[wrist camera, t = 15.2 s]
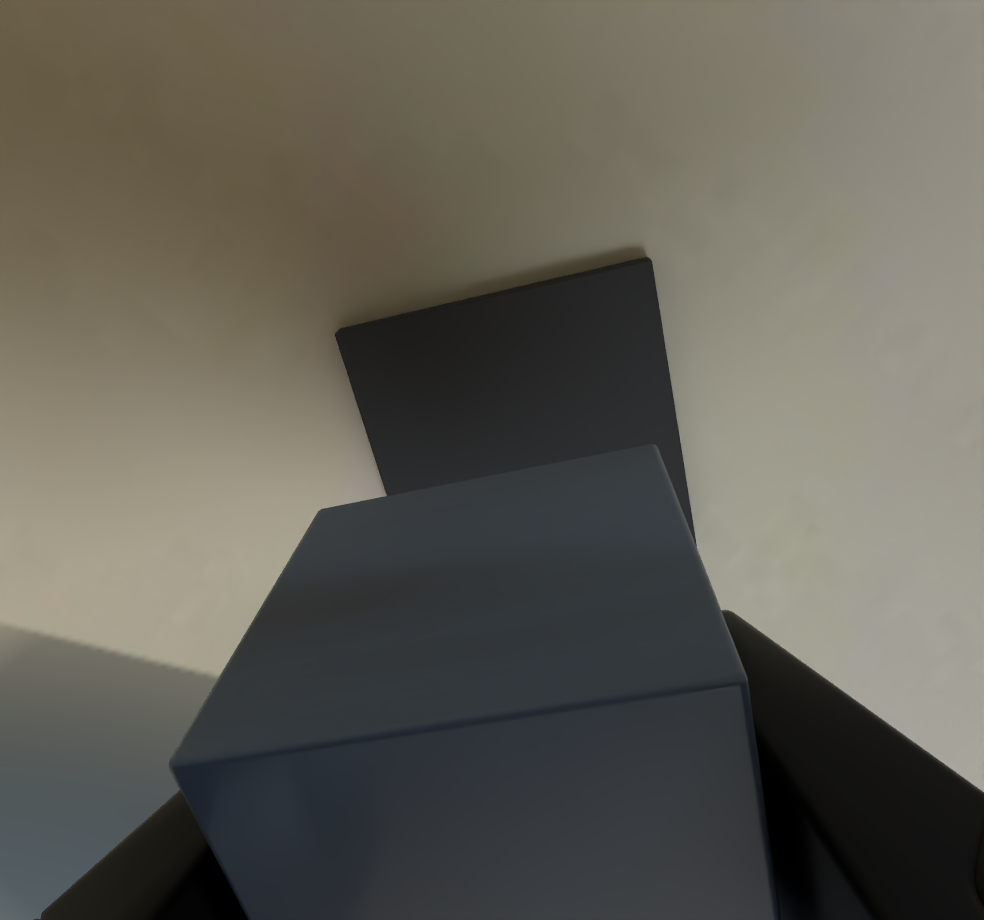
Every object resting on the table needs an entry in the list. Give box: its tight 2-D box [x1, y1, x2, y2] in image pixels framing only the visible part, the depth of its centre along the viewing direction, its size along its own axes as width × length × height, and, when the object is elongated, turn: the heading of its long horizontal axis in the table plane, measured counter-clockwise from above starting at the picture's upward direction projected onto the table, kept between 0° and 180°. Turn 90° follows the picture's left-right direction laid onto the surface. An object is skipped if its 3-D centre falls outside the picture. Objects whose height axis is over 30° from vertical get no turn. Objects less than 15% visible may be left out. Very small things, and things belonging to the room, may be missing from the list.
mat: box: [335, 257, 697, 546], centre depth 15 cm, size 6×6×1 cm
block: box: [169, 444, 781, 920], centre depth 8 cm, size 4×4×4 cm
